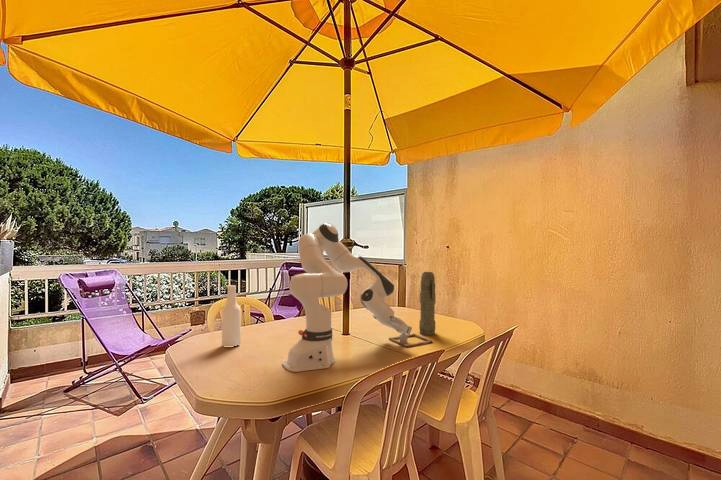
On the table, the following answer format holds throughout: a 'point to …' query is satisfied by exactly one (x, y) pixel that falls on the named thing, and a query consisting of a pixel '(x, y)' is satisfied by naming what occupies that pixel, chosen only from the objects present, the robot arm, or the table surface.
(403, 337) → the lighter
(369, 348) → the table surface
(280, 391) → the table surface
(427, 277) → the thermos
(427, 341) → the frame
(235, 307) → the alcohol
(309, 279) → the robot arm
